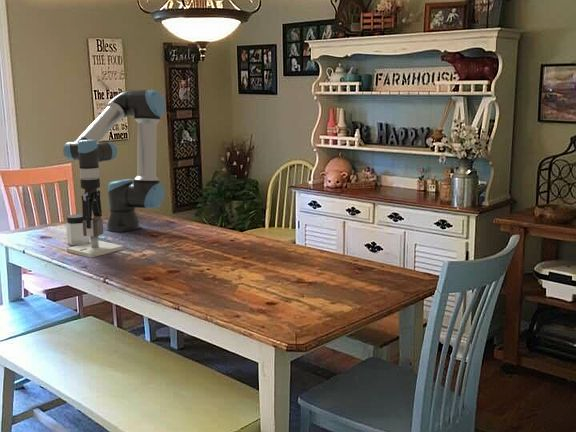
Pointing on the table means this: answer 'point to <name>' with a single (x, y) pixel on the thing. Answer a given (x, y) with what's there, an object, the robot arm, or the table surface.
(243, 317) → the table surface
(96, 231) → the brown box
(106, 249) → the board
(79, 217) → the jar
